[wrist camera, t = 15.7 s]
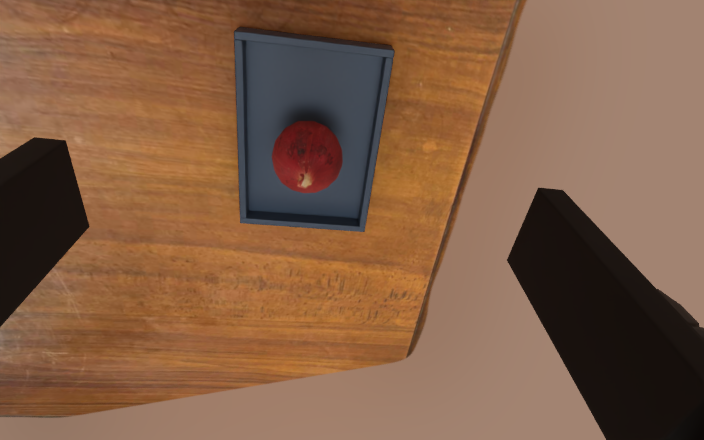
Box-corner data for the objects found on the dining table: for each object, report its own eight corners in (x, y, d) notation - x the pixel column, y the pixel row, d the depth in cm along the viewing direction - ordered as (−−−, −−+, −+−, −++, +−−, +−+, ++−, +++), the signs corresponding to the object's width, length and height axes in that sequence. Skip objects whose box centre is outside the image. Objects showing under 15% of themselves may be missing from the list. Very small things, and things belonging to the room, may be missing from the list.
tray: (239, 26, 32) (233, 30, 30) (391, 45, 33) (394, 50, 31) (243, 211, 41) (240, 223, 39) (362, 220, 42) (364, 232, 41)
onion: (272, 110, 35) (259, 146, 28) (339, 107, 35) (342, 142, 28) (281, 171, 38) (271, 217, 32) (342, 167, 38) (345, 212, 32)
